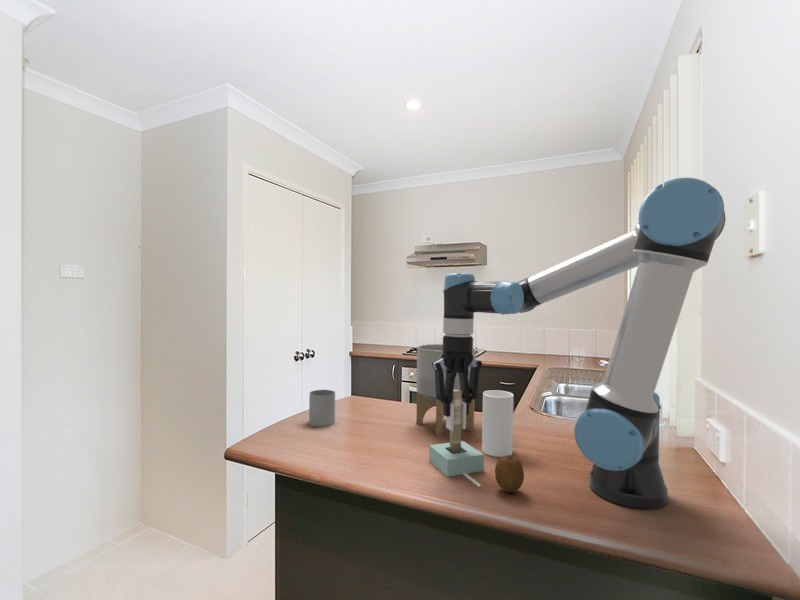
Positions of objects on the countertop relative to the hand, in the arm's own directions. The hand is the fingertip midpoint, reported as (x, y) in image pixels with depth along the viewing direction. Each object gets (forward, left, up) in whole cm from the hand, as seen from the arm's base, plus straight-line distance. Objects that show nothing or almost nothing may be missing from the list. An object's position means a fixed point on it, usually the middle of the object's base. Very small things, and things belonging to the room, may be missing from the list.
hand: (455, 428), depth 104 cm
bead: (0, 0, -9) cm, 9 cm away
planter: (+29, -12, -10) cm, 33 cm away
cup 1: (+45, +25, -10) cm, 53 cm away
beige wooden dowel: (0, 0, -7) cm, 7 cm away
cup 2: (+5, -16, -10) cm, 19 cm away
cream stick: (-9, 0, -9) cm, 13 cm away
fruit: (-16, -4, -10) cm, 19 cm away
